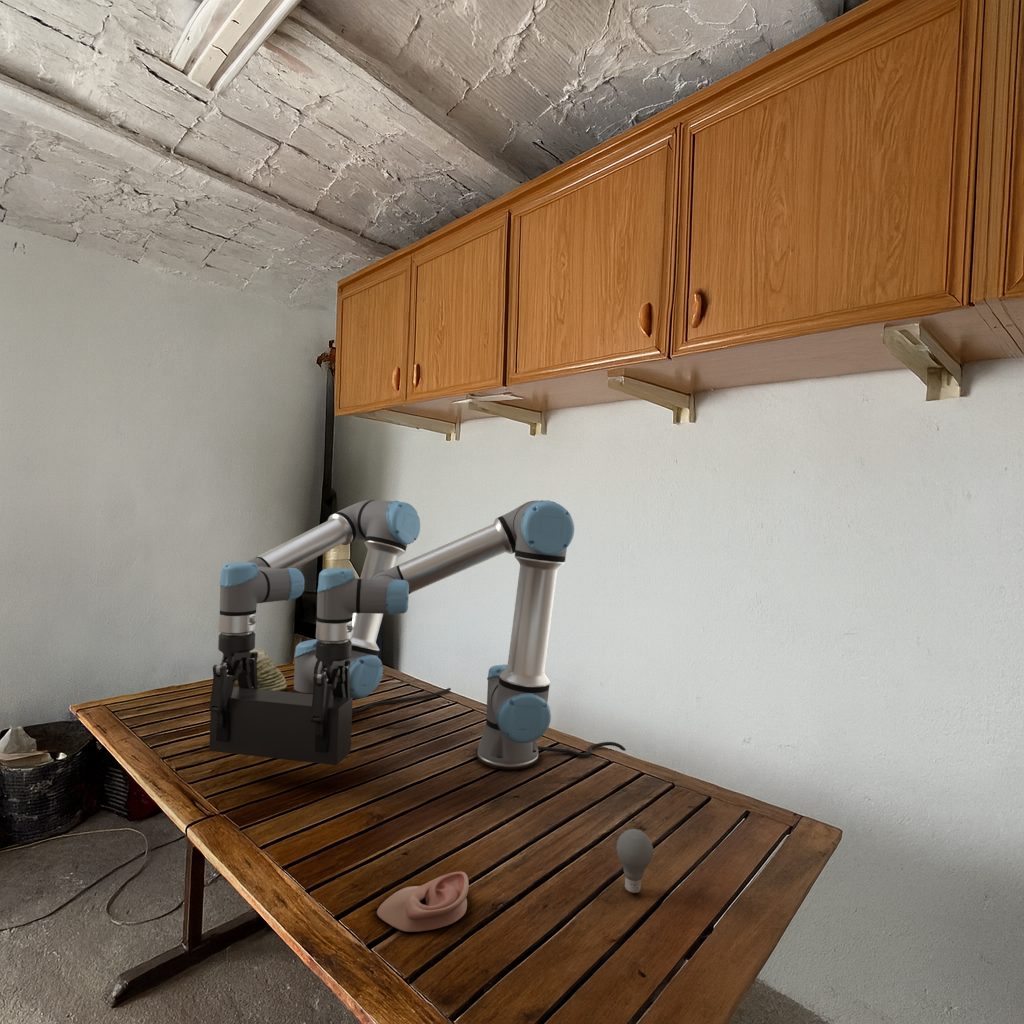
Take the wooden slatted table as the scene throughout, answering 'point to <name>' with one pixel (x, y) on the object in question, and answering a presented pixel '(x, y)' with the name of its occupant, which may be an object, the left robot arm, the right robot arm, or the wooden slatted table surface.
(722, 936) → the wooden slatted table surface
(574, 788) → the wooden slatted table surface
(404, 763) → the wooden slatted table surface
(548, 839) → the wooden slatted table surface
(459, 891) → the anatomical model
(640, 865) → the light bulb
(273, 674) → the fossil
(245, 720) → the box
